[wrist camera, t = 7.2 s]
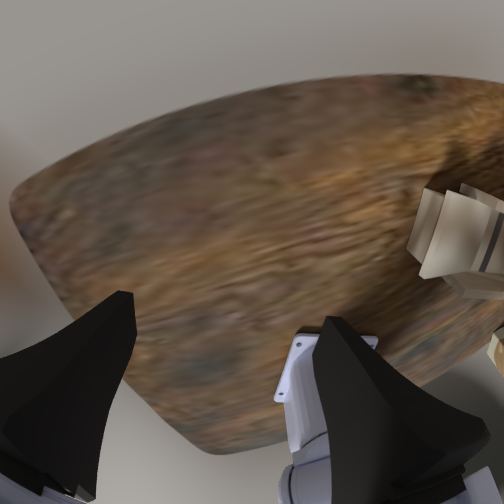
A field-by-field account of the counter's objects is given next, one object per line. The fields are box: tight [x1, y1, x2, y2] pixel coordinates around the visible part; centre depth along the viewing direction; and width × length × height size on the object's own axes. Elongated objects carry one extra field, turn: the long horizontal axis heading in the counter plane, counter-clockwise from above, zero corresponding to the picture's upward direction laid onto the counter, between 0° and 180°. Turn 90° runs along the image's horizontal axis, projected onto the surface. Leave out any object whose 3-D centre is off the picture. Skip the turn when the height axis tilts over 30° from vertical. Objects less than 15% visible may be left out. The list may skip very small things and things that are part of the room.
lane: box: [406, 183, 504, 300], centre depth 18 cm, size 8×18×4 cm, turn 82°
